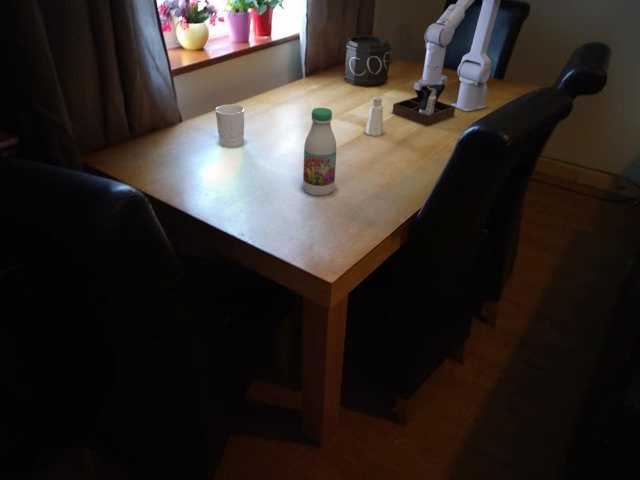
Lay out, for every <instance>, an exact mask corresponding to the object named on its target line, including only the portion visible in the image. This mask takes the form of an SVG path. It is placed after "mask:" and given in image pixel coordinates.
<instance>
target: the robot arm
mask: <svg viewBox="0 0 640 480" xmlns="http://www.w3.org/2000/svg"><path fill="white" fill-rule="evenodd" d="M475 1H476V0H457V2H456V3H453V4H450V5H449V6H448V7H447V8H446V9H445V11H444V12H443V14H441V16H440V17H439V18H438V19H437V21H436V22H434V23H432V24H430V25H429V26H428V27H427V28H426V30H425V32H424V36H423V37H424V42H425V45H424V46H425V49H426V51H425V58H424V65H423V72H422V78H420V79H419V80H418V81H415V82H414V85H413V89H414V91H415V94H416V97H418V104H419V109H421V110H425V109H426V106H427V102H428V99H429V96H430V94H431V92H432V90H428V88H434V89H436V95H435V96H436V102H435V105H436V103H437V101H439V98H440V97H441V94H442V93H443V92H444V90H445V89H446V84H445V83H447V80H448V76H446V75H443V67H444V62H445V56H446V50H447V46H448V45H449V44H450V43H451V41H452V39H453V36H454V34H455V32H456V31H455V30H456V29H457V27H458V26H459V25H460V24H461V22H462V21H463V20H464V19H465V15H466V13H465V12H466V10H467V9H468V8H469V7H470V6H471V5H472V4H473V3H474V2H475ZM500 4H501V0H482V5H481V9H480V12H479V17H478V19H477V24H476V27H475V28H476V29H475V31H474V36H473V40H472V42H471V43H472V44H471V48H470V50H469V52H467V53H466V54H464V55H462V59H461V62H460V63H459V65H458V66H457V76H458V78H459V81H460V84H459V90H458V95H457V101H456V102H452V103H451V104H450V105H451V106H454V107H455V108H457V109H460V110H462V111H464V112H472V111H475V110H476V111H477V110H481V109H485V108H486V106H485V101H486V97H487V93H488V86H487V83H486V82H487V81H488V80H489V78H490V76H491V68H492V59H490V57H489V56H488V55H487V52H488V47H489V44H490V41H491V37H492V33H493V30H494V26H495V22H496V18H497V15H498V11H499V8H500Z"/></svg>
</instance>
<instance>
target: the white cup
mask: <svg viewBox="0 0 640 480" xmlns="http://www.w3.org/2000/svg"><path fill="white" fill-rule="evenodd" d="M215 118H216V125H217V133H218V137H219V143H220V145H221V146H223V147H226V148H235V147H240V146H242V145H243V144H244V142H245V141H244V135H245V108H244V107H243V106H241V105H238V104H222V105H219V106H217V107H216V108H215Z"/></svg>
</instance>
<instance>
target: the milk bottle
mask: <svg viewBox="0 0 640 480" xmlns="http://www.w3.org/2000/svg"><path fill="white" fill-rule="evenodd" d="M332 117H333V112H332V110H331V109H330V108H327V107H316V108H315V107H314V108H313V109H311V121H312V123H311V127H310V129H309V131H308V133H307V135H306V137H305V140H304V148H303V176H302V178H303V179H302V187H303V190H304V192H306V193H307V194H310V195H311V196H312V195H313V196H326V195H329V194H331V193H333V192H334V190H335V185H336V183H335V182H336V170H337V169H336V168H337V167H336V164H337V141H336V137H335V134H334V132H333V129H332V126H331V123H332Z"/></svg>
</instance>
